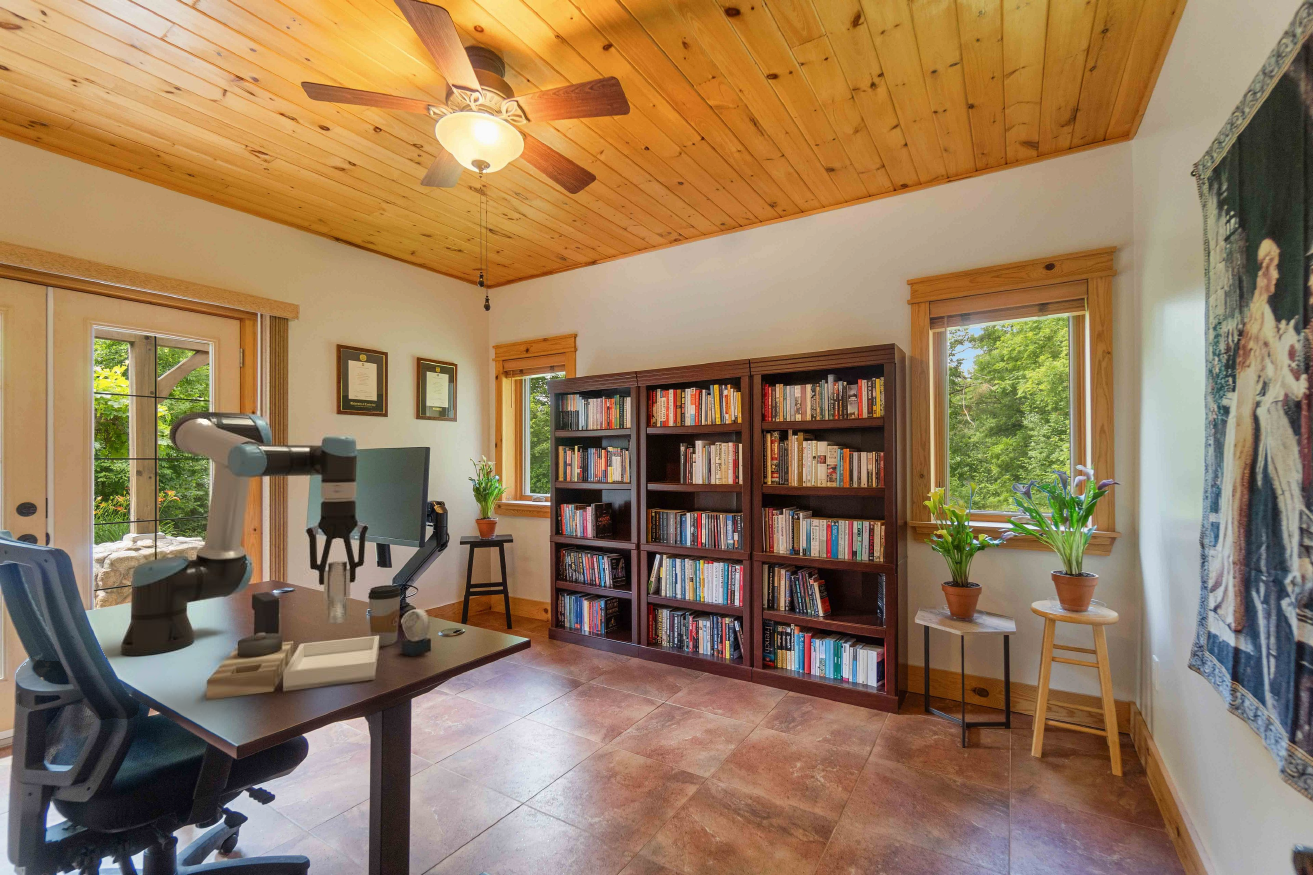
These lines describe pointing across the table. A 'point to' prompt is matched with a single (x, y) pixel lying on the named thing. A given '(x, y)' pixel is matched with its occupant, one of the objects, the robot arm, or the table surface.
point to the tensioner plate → (251, 667)
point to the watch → (414, 643)
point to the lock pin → (337, 592)
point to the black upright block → (266, 613)
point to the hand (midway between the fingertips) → (337, 596)
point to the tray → (332, 663)
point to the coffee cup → (384, 613)
